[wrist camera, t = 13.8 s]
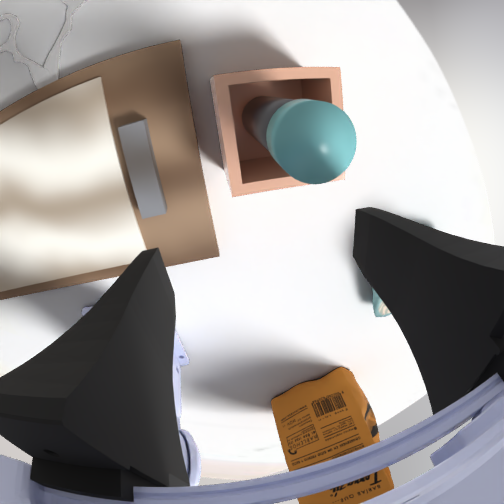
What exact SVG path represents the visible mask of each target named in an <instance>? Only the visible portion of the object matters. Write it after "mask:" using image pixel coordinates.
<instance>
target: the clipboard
mask: <svg viewBox="0 0 504 504" xmlns="http://www.w3.org/2000/svg"><path fill="white" fill-rule="evenodd" d="M158 247H159V250H160V253H161V256H162V259H163V262H164V265H165V267H168V266H173V265H178V264H183V263H188V262H193V261H198V260H203V259H208V258H213V257H219V249H218V244H217V239H216V235H215V230H214V225H213V220H212V215H211V210H210V206H209V201H208V196H207V191H206V185H205V180H204V175H203V170H202V165H201V159H200V154H199V149H198V143H197V138H196V132H195V127H194V121H193V115H192V109H191V103H190V97H189V91H188V85H187V79H186V73H185V66H184V60H183V53H182V47H181V41H180V40H176V41H171V42H167V43H162V44H158V45H154V46H150V47H146V48H143V49H139V50H136V51H132V52H129V53H126V54H122V55H119V56H116V57H113V58H110V59H107V60H105V61H102V62H99V63H96V64H94V65H91V66H89V67H86V68H83V69H81V70H79V71H76V72H74V73H72V74H69V75H67V76H65V77H63V78H60V79H58V80H56V81H54V82H52V83H50V84H48V85H46V86H44V87H42V88H40V89H38V90H36V91H34V92H32V93H30V94H29V95H27V96H25V97H23V98H21V99H20V100H18V101H16V102H15V103H13V104H11V105H10V106H8V107H6V108H5V109H3V110H2V111H0V300H3V299H7V298H12V297H17V296H22V295H27V294H32V293H37V292H42V291H47V290H52V289H57V288H62V287H67V286H72V285H77V284H82V283H87V282H92V281H97V280H102V279H107V278H112V277H117V276H120V275H121V274H122V273H123V272H124V271H125V269H126V268H127V267H128V266H129V265H130V264H131V262H132V261H133V260H134V259H135V258H136V257H137V256H138V254H139V253H141V252H142V251H144V250H148V249H153V248H158Z"/></svg>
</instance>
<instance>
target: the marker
mask: <svg viewBox="0 0 504 504" xmlns="http://www.w3.org/2000/svg"><path fill="white" fill-rule="evenodd" d="M242 123H243V126H244V128H245V129H246V130H247V132H248V133H250V134H251V135H252V136H253V137H254V138H255V139H256V140H257V141H258V142H259V143H260V144H262V145H263V146H264V147H265V148H266V149H267V150H268V151H269V152H270V154H271V156H272V157H273V159H274V160H275V161H276V162H277V163H278V164H279V165H280V166H281V167H282V168H283V169H284V170H285V171H286V172H287V173H288V174H289V175H290V176H291V177H293V178H294V179H296V180H298V181H300V182H303V183H307V184H322V183H326V182H329V181H331V180H333V179H335V178H337V177H338V176H339V175H341V174H342V173H343V172H344V171H345V170H346V169H347V167H348V166H349V165H350V163H351V161H352V159H353V157H354V154H355V150H356V133H355V129H354V126H353V124H352V122H351V120H350V118H349V117H348V115H347V114H346V113H345V112H344V111H343V110H342V109H340V108H339V107H337V106H336V105H334V104H331V103H328V102H324V101H318V100H311V99H297V100H294V99H286V98H278V97H269V96H260V97H256V98H254V99H252V100H251V101H249V102H248V103H247V104H246V106H245V107H244V109H243V112H242Z"/></svg>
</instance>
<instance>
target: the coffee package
mask: <svg viewBox="0 0 504 504" xmlns="http://www.w3.org/2000/svg"><path fill="white" fill-rule="evenodd" d="M271 405H272V410H273V414H274V418H275V422H276V426H277V430H278V434H279V438H280V441H281V445H282V449H283V452H284V455H285V460H286V463H287V466H288V469H289V472H290V471H294V470H298V469H302V468H306V467H309V466H313V465H316V464H320V463H323V462H326V461H329V460H332V459H335V458H338V457H341V456H344V455H347V454H350V453H353V452H355V451H358V450H360V449H363V448H366V447H368V446H371V445H373V444H375V443H378V442H380V440H379V432H378V428H377V423H376V419H375V416H374V413H373V411H372V408H371V406H370V404H369V402H368V400H367V398H366V396H365V395H364V393H363V391H362V389H361V388H360V386H359V385H358V383H357V382H356V380H355V377H354V375H353V373H352V372H351V371H349V370H347V369H346V368H343V367H339V368H337V369H335V370H333V371H332V372H330V373H329V374H327V375H326V376H324V377H323V378H321V379H318V380H314V381H307V382H303V383H301V384H298V385H296V386H295V387H293V388H291V389H290V390H288V391H287V392H285V393H283V394H282V395H280V396H278V397H276V398H274V399H272V401H271ZM392 489H394V484H393V481H392V478H391V474H390V470H389V468H388V467H386V468H384V469H381V470H379V471H377V472H374V473H372V474H370V475H367V476H365V477H362V478H360V479H357V480H354V481H352V482H349V483H346V484H343V485H340V486H338V487H335V488H331V489H328V490H325V491H322V492H318V493H315V494H311V495H308V496H304V497H300V498H297V499H298V501H299V504H360V503H362V502H365V501H367V500H370V499H372V498H375V497H377V496H379V495H381V494H384V493H386V492H388V491H390V490H392Z"/></svg>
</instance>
